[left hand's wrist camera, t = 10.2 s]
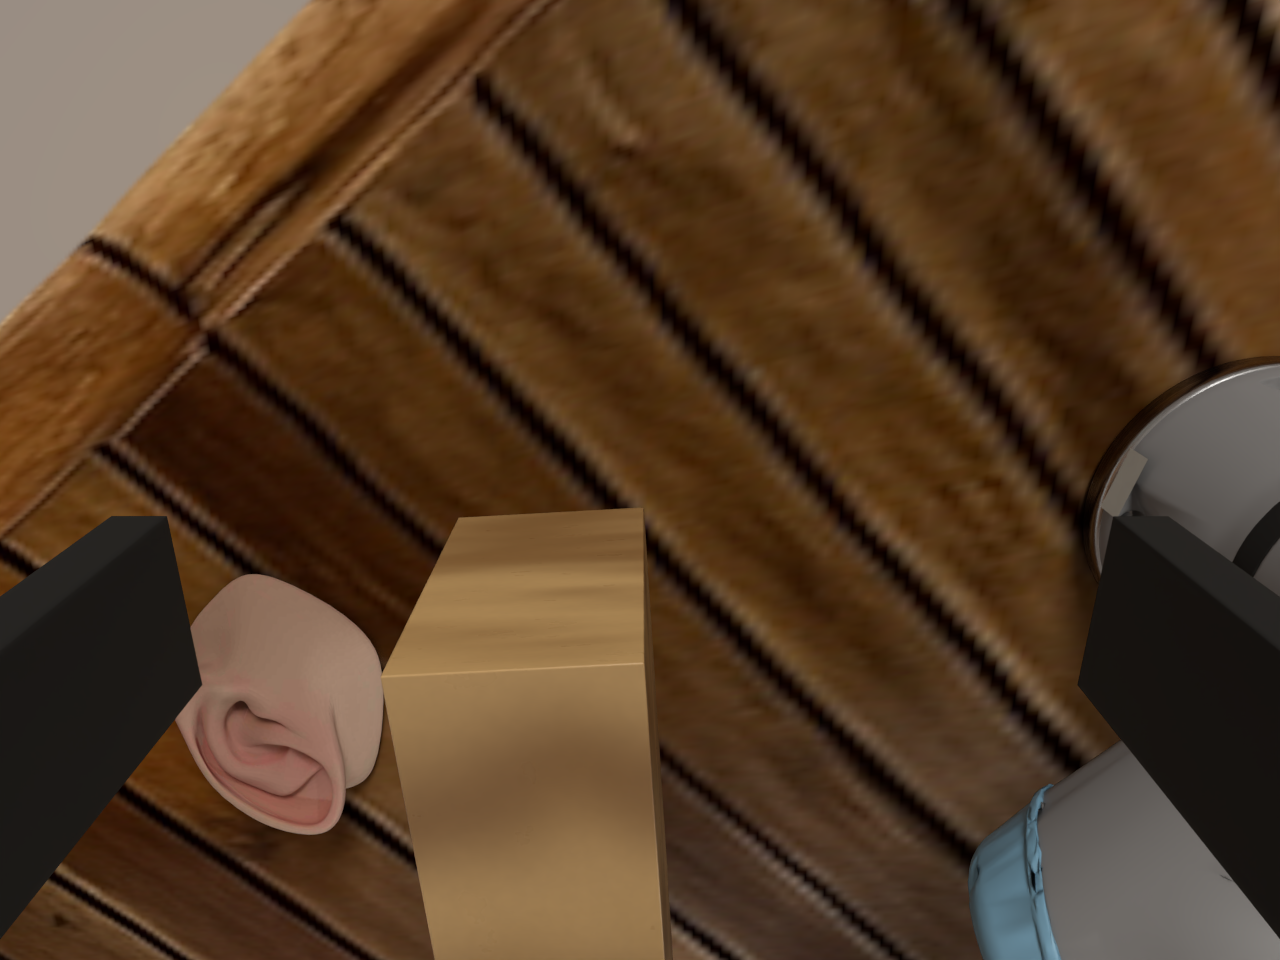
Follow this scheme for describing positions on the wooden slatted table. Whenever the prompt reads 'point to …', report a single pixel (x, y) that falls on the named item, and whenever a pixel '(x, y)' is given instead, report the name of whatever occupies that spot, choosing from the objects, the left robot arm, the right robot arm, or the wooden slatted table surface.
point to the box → (535, 741)
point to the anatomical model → (283, 704)
